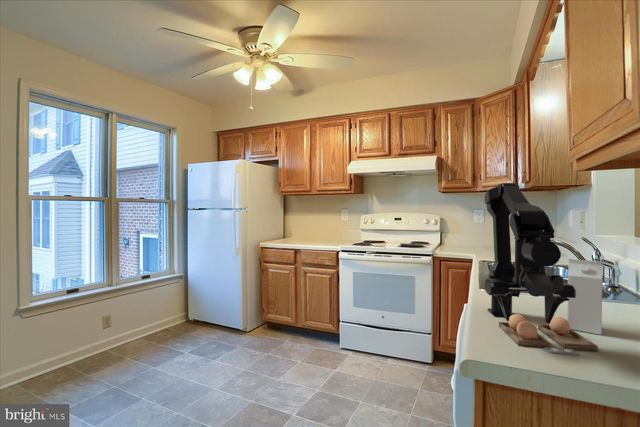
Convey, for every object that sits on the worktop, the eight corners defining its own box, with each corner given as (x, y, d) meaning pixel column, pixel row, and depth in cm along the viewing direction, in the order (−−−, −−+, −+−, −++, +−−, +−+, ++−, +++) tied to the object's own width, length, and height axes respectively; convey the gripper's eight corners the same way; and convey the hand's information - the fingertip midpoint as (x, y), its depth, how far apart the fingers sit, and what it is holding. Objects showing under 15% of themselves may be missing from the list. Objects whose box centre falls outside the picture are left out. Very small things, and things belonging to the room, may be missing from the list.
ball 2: (513, 335, 83) (513, 318, 83) (532, 336, 82) (532, 319, 82) (521, 342, 79) (521, 324, 79) (541, 343, 78) (540, 325, 78)
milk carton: (568, 322, 94) (569, 257, 94) (600, 327, 90) (601, 260, 89) (567, 329, 89) (568, 260, 88) (601, 335, 84) (602, 263, 84)
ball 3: (545, 329, 87) (545, 313, 87) (563, 331, 86) (564, 314, 86) (554, 336, 82) (554, 319, 82) (573, 337, 82) (573, 320, 82)
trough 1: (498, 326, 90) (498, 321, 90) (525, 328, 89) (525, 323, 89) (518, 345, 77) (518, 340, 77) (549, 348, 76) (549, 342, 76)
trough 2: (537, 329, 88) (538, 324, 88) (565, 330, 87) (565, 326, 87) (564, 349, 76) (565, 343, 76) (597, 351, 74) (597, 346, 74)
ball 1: (505, 327, 89) (505, 311, 88) (523, 328, 88) (523, 312, 88) (512, 333, 84) (512, 316, 84) (530, 334, 83) (530, 317, 83)
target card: (544, 348, 76) (544, 346, 76) (572, 350, 75) (572, 348, 75) (549, 352, 74) (549, 351, 74) (578, 354, 73) (578, 353, 73)
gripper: (499, 263, 74) (498, 331, 74) (591, 266, 71) (590, 337, 71) (484, 256, 85) (483, 315, 85) (562, 259, 82) (562, 320, 82)
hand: (527, 321), depth 80 cm, fingers open, 9 cm apart
